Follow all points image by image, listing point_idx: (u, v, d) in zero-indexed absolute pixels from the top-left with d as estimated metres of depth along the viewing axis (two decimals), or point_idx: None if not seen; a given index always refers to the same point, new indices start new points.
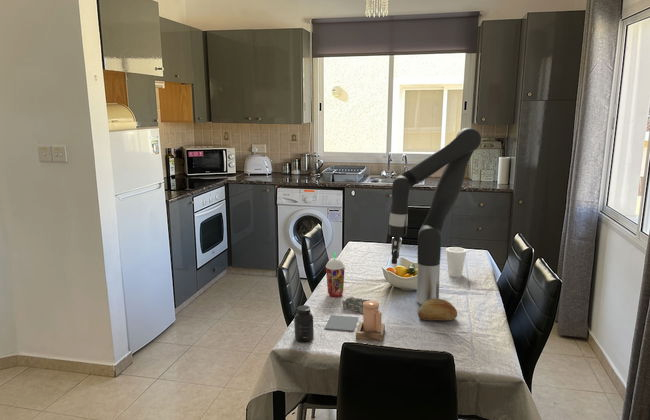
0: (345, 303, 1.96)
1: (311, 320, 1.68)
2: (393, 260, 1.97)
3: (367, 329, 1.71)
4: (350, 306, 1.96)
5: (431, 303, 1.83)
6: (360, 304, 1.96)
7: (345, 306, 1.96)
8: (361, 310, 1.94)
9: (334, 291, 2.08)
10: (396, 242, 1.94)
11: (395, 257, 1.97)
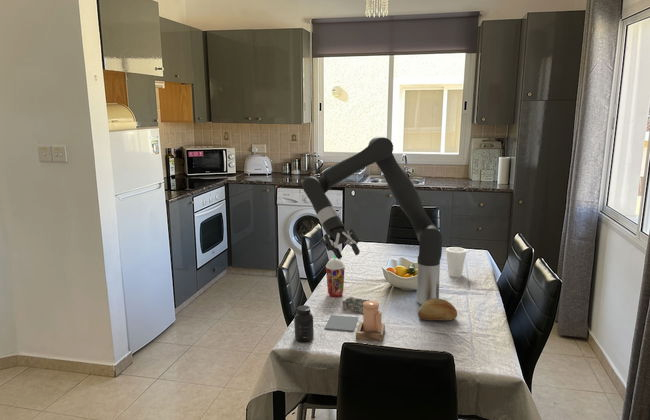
0: (345, 303, 1.96)
1: (311, 320, 1.68)
2: (335, 255, 1.76)
3: (367, 329, 1.71)
4: (350, 306, 1.96)
5: (431, 303, 1.83)
6: (360, 304, 1.96)
7: (344, 306, 1.96)
8: (361, 310, 1.94)
9: (334, 291, 2.08)
10: (324, 236, 1.78)
11: (335, 251, 1.76)
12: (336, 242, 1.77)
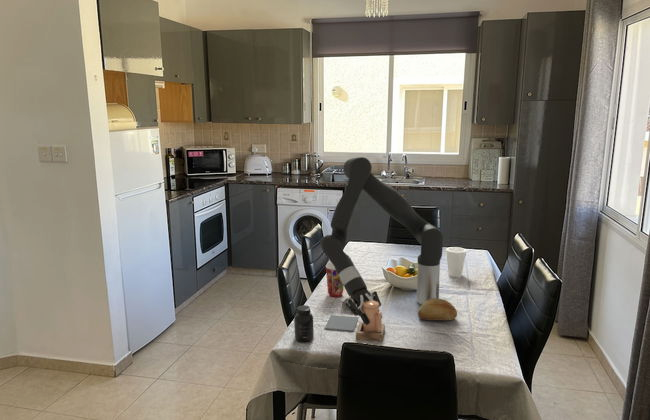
0: (344, 303, 1.96)
1: (311, 320, 1.68)
2: (363, 320, 1.70)
3: (367, 329, 1.71)
4: None
5: (431, 303, 1.83)
6: None
7: (344, 306, 1.96)
8: None
9: (334, 291, 2.08)
10: (348, 302, 1.71)
11: (362, 316, 1.70)
12: (362, 306, 1.72)
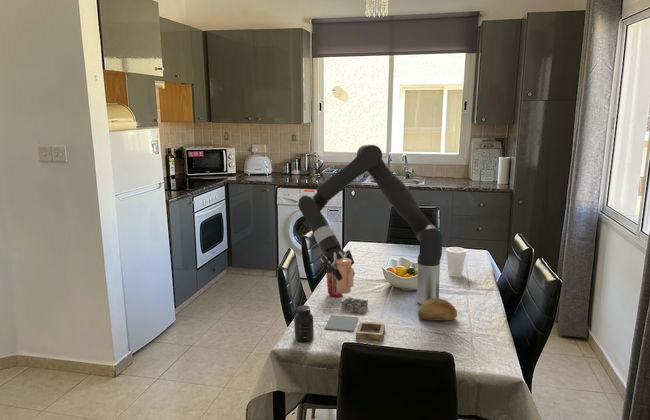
0: (344, 304, 1.96)
1: (311, 320, 1.68)
2: (335, 276, 1.76)
3: (340, 285, 1.77)
4: (349, 307, 1.96)
5: (431, 303, 1.83)
6: (359, 304, 1.96)
7: (343, 306, 1.96)
8: (360, 310, 1.93)
9: (334, 291, 2.08)
10: (321, 258, 1.77)
11: (335, 272, 1.76)
12: (335, 263, 1.77)
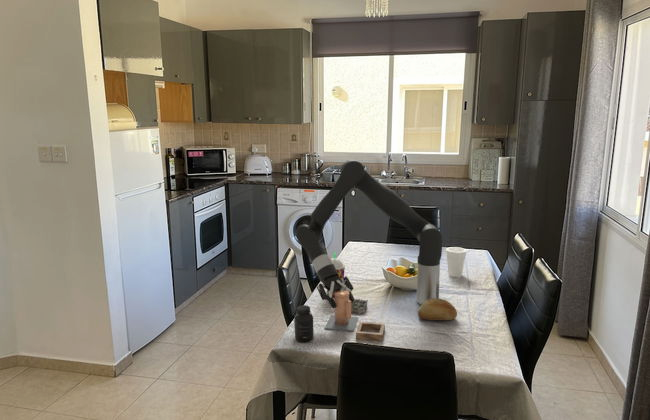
0: None
1: (311, 320, 1.68)
2: (330, 304, 1.79)
3: (338, 317, 1.81)
4: None
5: (431, 303, 1.83)
6: (358, 305, 1.96)
7: None
8: (359, 311, 1.93)
9: None
10: (318, 285, 1.81)
11: (329, 300, 1.79)
12: (331, 291, 1.80)
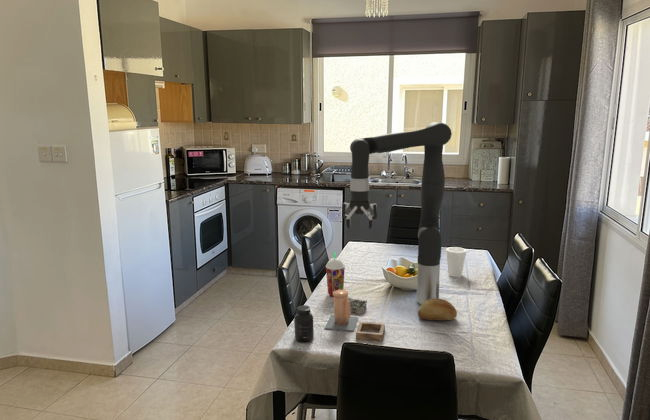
0: None
1: (311, 320, 1.68)
2: None
3: (337, 317, 1.81)
4: None
5: (431, 303, 1.83)
6: (358, 305, 1.95)
7: None
8: (359, 311, 1.93)
9: None
10: (343, 204, 1.94)
11: None
12: (350, 214, 1.93)
